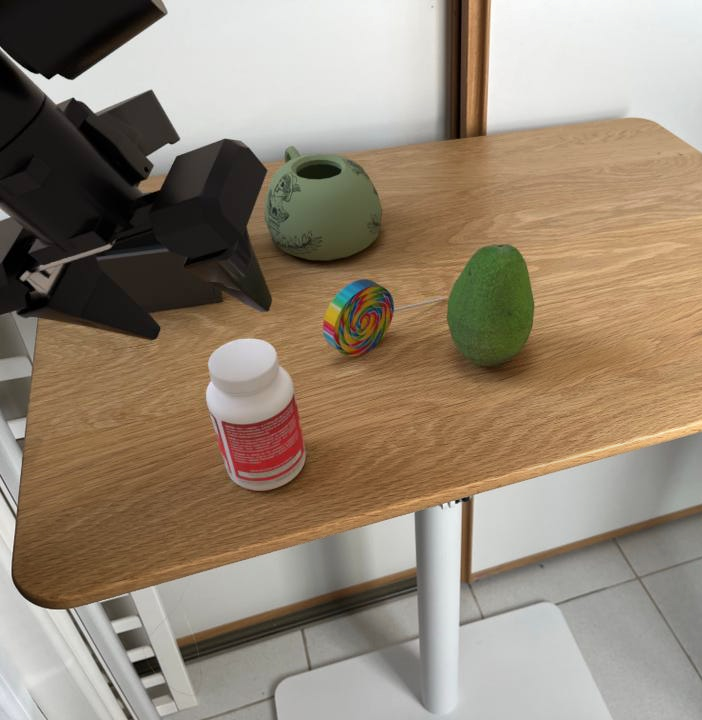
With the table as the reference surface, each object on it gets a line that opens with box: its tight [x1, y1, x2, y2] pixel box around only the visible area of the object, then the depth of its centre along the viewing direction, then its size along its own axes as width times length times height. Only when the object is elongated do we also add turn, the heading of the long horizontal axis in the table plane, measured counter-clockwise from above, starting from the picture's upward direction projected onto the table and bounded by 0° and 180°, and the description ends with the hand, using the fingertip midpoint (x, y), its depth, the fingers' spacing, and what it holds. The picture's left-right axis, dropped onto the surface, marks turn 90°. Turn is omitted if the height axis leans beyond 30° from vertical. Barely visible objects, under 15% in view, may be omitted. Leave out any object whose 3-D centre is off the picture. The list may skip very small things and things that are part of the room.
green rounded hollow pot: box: [264, 145, 383, 262], centre depth 83 cm, size 16×13×9 cm
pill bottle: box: [205, 338, 307, 492], centre depth 56 cm, size 6×6×11 cm
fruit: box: [446, 243, 535, 368], centre depth 66 cm, size 8×8×12 cm
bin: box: [95, 191, 224, 313], centre depth 76 cm, size 12×12×7 cm
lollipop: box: [322, 278, 446, 358], centre depth 71 cm, size 7×2×15 cm
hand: (210, 320), depth 48 cm, fingers open, 9 cm apart
